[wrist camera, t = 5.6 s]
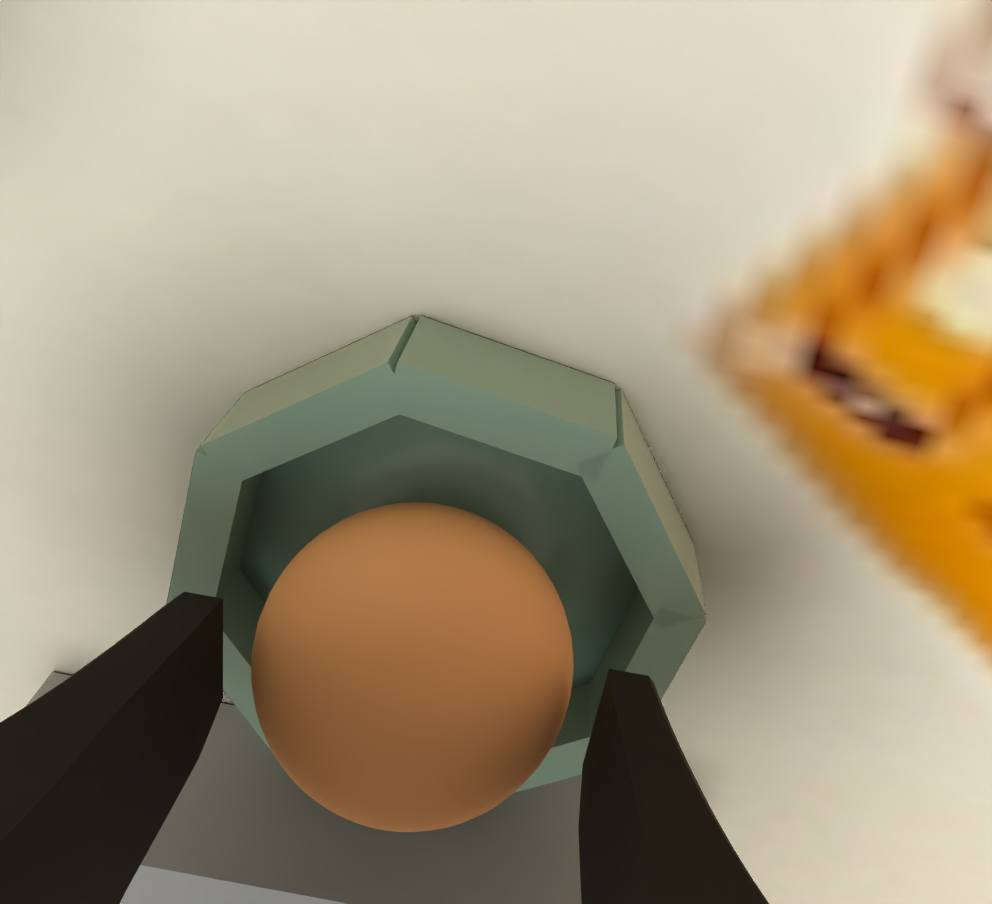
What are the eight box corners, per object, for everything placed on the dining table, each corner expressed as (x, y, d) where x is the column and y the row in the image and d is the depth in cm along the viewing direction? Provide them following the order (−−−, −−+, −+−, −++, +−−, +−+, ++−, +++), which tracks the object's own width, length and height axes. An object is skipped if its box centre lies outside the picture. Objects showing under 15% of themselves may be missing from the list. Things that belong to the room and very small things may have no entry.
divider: (693, 789, 19) (714, 972, 16) (679, 826, 20) (697, 1011, 16) (51, 671, 19) (-67, 826, 16) (57, 712, 20) (-58, 870, 17)
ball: (619, 633, 17) (624, 868, 12) (385, 701, 18) (316, 934, 14) (506, 406, 15) (466, 590, 10) (254, 502, 16) (125, 699, 12)
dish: (743, 649, 17) (759, 725, 16) (364, 762, 20) (341, 840, 18) (555, 249, 14) (550, 289, 12) (129, 445, 17) (74, 501, 15)
